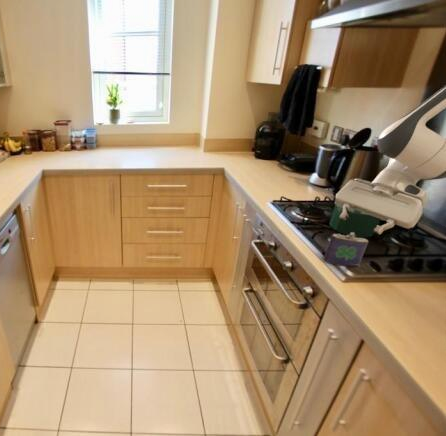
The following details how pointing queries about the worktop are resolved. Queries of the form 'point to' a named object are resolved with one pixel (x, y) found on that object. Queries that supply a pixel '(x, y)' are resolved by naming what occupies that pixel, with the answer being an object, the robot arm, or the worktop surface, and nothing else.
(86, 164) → the worktop surface
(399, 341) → the worktop surface
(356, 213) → the pot lid
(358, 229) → the pot
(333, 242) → the flask
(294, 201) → the worktop surface
